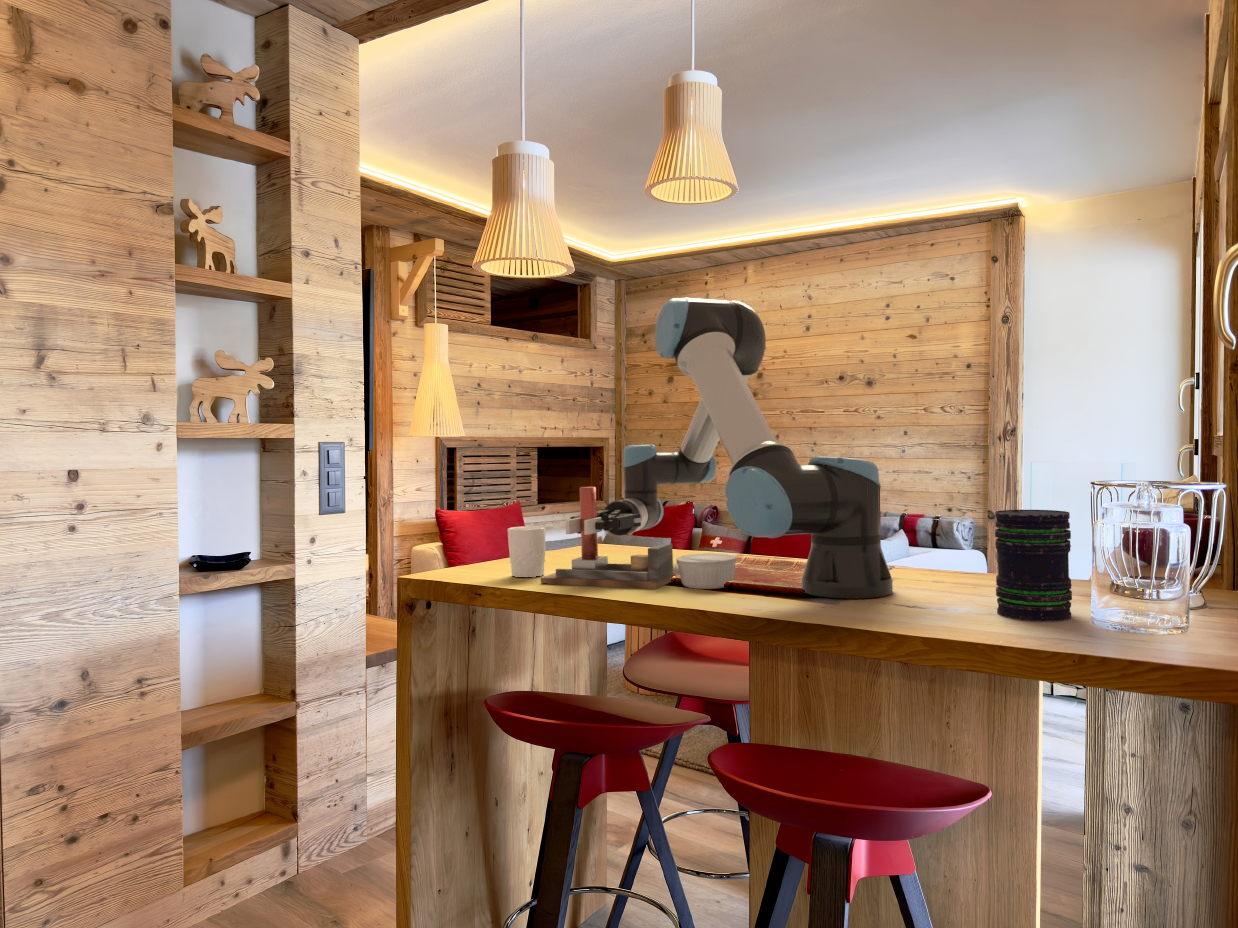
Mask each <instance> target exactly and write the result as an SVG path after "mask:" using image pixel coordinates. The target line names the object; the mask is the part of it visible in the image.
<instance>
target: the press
mask: <svg viewBox="0 0 1238 928" xmlns="http://www.w3.org/2000/svg"><path fill="white" fill-rule="evenodd" d="M673 554H674V553H673V543H661V544H657V545H654V546H652V547H649V548H647V555H648V572H635V571H631V563H630V564H629V563H608V571H607V570H580V569H572V568H556V569H555V572H554V573H550V574H548V575H547V574H546V575H545V576H544V575H543V576H540V584H541V583H548V584H547V585H557V584H561V585H560V586H579V585H580V586H581V587H583V586H584V587H601V588H603V587H605V588H606V587H607V588H625V589H627V588H628V589H645V590H647V589H649V590H651V589H652V590H657V589H659V588H661V587H663V586H665V585H667V584H670V583H671V582H673V581H671V578H672V577H673V576H676V577H677V573H674V564H673V563H674V560H673V559H674V558H673V557H674V555H673Z"/></svg>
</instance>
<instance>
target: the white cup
mask: <svg viewBox="0 0 1238 928" xmlns="http://www.w3.org/2000/svg"><path fill="white" fill-rule="evenodd" d="M546 531H547V530H546V526H541V525H540V526H539V525H532V526H531V525H526V526H525V525H524V526H514V527H509V528H507V538H508V540H507V542H508V550H509V551H508V552H509V563H510V568H511V577H512V576H516V577H533V578H537V577H536V576H540V577H543V576H544V575H545V562H546V559H545V558H546ZM542 575H543V576H542Z"/></svg>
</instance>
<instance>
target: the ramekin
mask: <svg viewBox="0 0 1238 928" xmlns="http://www.w3.org/2000/svg"><path fill="white" fill-rule="evenodd" d="M737 559H738V558H737V556H736V555H733V554H726V553H693V554H687V555H681V556H679V557H677V558H676V564H677V567H678V573H679V576H680V581H681V584H682V585H683V586H684V587H686V588H691V589H696V590H698V589H700V590H704V589H705V590H706V589H707V590H712V589H722V588H723V589H724V588H725V587H724V584H725V583H726V582H729V581H732V580H733V579H735V571H736V564H737V563H738V561H737ZM733 581H734V580H733Z"/></svg>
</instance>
